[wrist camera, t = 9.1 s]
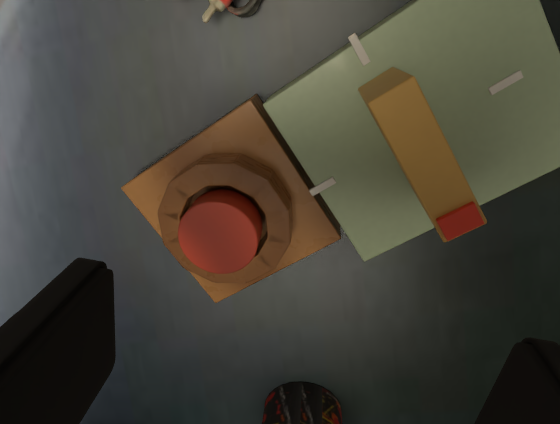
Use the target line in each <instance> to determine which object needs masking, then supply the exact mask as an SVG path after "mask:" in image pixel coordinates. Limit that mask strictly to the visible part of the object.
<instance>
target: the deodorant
mask: <svg viewBox="0 0 560 424" xmlns="http://www.w3.org/2000/svg"><path fill="white" fill-rule="evenodd" d="M262 424H342V414H341V406H340V404H339V402H338V400H337V398H336V397H335V396H334V395H333V394H332V393H331V392H330V391H328V390H326V389H325V388H323V387H321V386H318V385H315V384H313V383H306V382H292V383H288V384H284V385H282V386H280V387H278V388H276V389H274V390H273V391H272V392H271V393H270V394H269V396H268V397H267V399H266V402H265V408H264V415H263V421H262Z"/></svg>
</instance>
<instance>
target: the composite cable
mask: <svg viewBox="0 0 560 424" xmlns="http://www.w3.org/2000/svg"><path fill="white" fill-rule="evenodd" d="M208 1H209V3H210V5H209V7H208V9H207V10H206V11H205V12H204V14H203V17H202V20H203V21H204V23H208V22H209V20H210V18H211V17H212V15H213V14H214V12H216V11H218V12H222V11H223V10H224V9H225V8H227V10H228V11H229V12H231V13H232V14H235V15H237V16H239V17H249V16H251V15H252V14H254V13H255V12H256V11H257V9H258V7H259V5H260V3H261V1H262V0H249V2H248V3H247V4H246V5H245V6H244V7H240V8H236V6H235V5H234V3H233V0H208Z"/></svg>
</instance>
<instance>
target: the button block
mask: <svg viewBox="0 0 560 424" xmlns="http://www.w3.org/2000/svg"><path fill="white" fill-rule="evenodd" d="M313 187H315V185H314V184H313V182H312V181H311V179H310V178H309V176H308V175H307V173H306V172H305V170H304V168H303V167H302V165H301V164H300V162H299V161H298V159H297V158H296V156H295V155H294V153H293V151H292V150H291V148H290V147H289V145H288V144H287V142H286V141H285V139H284V138H283V136H282V135H281V133H280V131H279V130H278V128H277V127H276V125H275V124H274V122H273V121H272V119H271V118H270V116H269V114H268V113H267V111H266V110H265V108H264V107H263V103H262V101H261V100H260V98H259V96H258V95H257V94H255V95H254V96H252V97H251V98H249V99H248V100H247V101H245V102H244V103H242V104H241V105H239V106H238V107H236V108H235V109H233V110H232V111H230V112H229V113H228V114H226V115H225V116H223V117H222V118H220V119H219V120H217V121H216V122H214V123H213V124H211V125H210V126H209V127H207V128H206V129H204V130H203V131H201V132H200V133H198V134H197V135H195V136H194V137H192V138H191V139H190V140H188V141H187V142H185V143H184V144H182V145H181V146H179V147H178V148H176V149H175V150H174V151H172V152H171V153H169V154H168V155H166V156H165V157H163V158H162V159H160V160H159V161H157V162H156V163H155V164H153V165H152V166H150V167H149V168H147V169H146V170H144V171H143V172H141V173H140V174H138V175H137V176H136V177H134V178H133V179H132V180H130V181H129V182H128V183H126V184H125V185H124V186H122V188H121V189H122V190H123V191H124V193H125V194H126V195H127V196H128V197H129V199H130V200H131V201H132V202H133V203H134V205H135V206H136V207H137V208H138V210H139V211H140V212H141V213H142V214H143V216H144V217H145V218H146V219H147V220H148V222H149V223H150V224H151V225H152V227H153V228H154V229H155V230H156V231H157V233H158V234H159V235H160V236H161V237H162V239H163V243H164V245H165V246H166V247H167V249H168V250H169V251H170V252H171V253H172V255H173V256H174V257H175V258H176V259H177V261H178V262H179V263H180V264H181V265H182V267H183V268H185V269H186V270H188V271H190V273H191V274H192V275H193V276H194V278H195V279H196V280H197V281H198V282H199V284H200V285H201V286H202V287H203V288H204V290H205V291H206V292H207V293H208V295H209V296H210V297H211V298H212V299H213V301H214V302H215V303H217V302H219V301H221V300H223V299H225V298H227V297H229V296H231V295H232V294H234V293H236V292H238V291H240V290H242V289H244V288H246V287H248V286H250V285H252V284H254V283H256V282H258V281H260V280H262V279H264V278H265V277H267V276H269V275H271V274H273V273H275V272H277V271H279V270H281V269H283V268H285V267H287V266H289V265H291V264H293V263H295V262H297V261H299V260H300V259H302V258H304V257H306V256H308V255H310V254H312V253H314V252H316V251H318V250H320V249H322V248H324V247H326V246H328V245H330V244H332V243H333V242H335V241H337V240H339V239H341V232H340V224H339V222H338V221H337V219H336V218H335V216H334V215H333V213H332V212H331V210H330V209H329V207H328V205H327V204H326V202H325V201H324V199H323V198H322V196H321V195H320V193H318V194H316V195H314V196H312V195H311V193H310V192H309V190H310V189H311V188H313ZM218 189H226V190H231V191H235V192H237V193H240V194H242V195H243V196H245V197H246V198H248V199H249V200H250V201H251V202H252V203H253V204H254V205H255V207H256V208H257V210H258V211H259V213H260V216H261V219H262V225H263V230H262V235H261V239H260V242H259V245H258V248H257V252H256V254H255V256H254V258H253V259H252V261H251V262H250V263H249V264H248V265H247V266H245V267H244V268H242V269H241V270H238V271H236V272H233V273H228V274H216V273H211V272H208V271H205V270H203V269H201V268H199V267H197V266H196V265H194V264H193V263H192V262H191V261H190V260H189V259H188V258H187V257H186V255H185V254H184V253H183V251H182V249H181V247H180V244H179V240H178V227H179V223H180V221H181V219H182V217H183V215H184V214H185V213H186V211H187V210H188V209H189V208H190V206H191V205H192V204H193V202H194V201H195V200H196V199H197V198H198V197H199V196H201V195H202V194H204V193H206V192H209V191H212V190H218Z"/></svg>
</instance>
